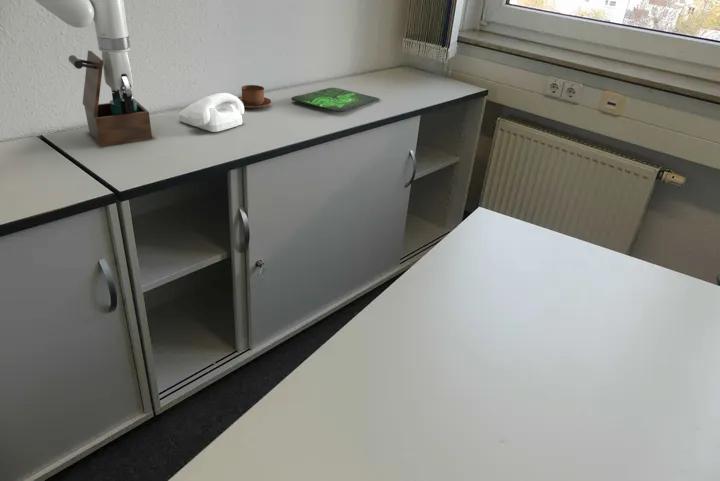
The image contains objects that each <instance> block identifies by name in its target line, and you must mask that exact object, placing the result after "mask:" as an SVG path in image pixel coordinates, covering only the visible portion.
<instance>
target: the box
mask: <svg viewBox="0 0 720 481" xmlns="http://www.w3.org/2000/svg"><path fill="white" fill-rule="evenodd" d="M83 106H84V105H83ZM137 108H138V112H136V113H129V114H121V115H112V114H111V108H110V102H105V103H99V104H98V112H97V117H94V116H93V115H92V114H91V113H90V112H89V111H88V110H87V108H86V107H85V106H84V112H85V116H86V122H87V126H88V131H89V132H88V133H89V135H91V136H92V138H93V139H94V141H95V142H96V143H97V144H98V145H99V147H101V148H104V147H110V146H115V145H122V144H129V143H135V142H142V141H148V140H153V134H152V126H151V119H150V111H149V110H148V109H147V108H145V107H144V106H143V105H142V104H141V103H139V102H138V101H137Z"/></svg>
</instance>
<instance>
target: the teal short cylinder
mask: <svg viewBox="0 0 720 481" xmlns="http://www.w3.org/2000/svg"><path fill="white" fill-rule="evenodd" d="M120 101H121V98H117V99H113V98H112V99H111V100H110V101H109V103H110V108H111V114H112V115H121V114H122V110H121V103H120ZM137 102H138V101H137V100H136V99H135V98H133V103H134V110H135V113H136V112H138V108H137Z"/></svg>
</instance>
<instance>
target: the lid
mask: <svg viewBox="0 0 720 481" xmlns="http://www.w3.org/2000/svg"><path fill="white" fill-rule="evenodd" d="M86 56H87V57H86V60H85V59H82V58H81V59H80V58H78V57H77V56H76V55H73V54H72V55H69V57H68V61H69V63H70V64H71V65H72V66H74V67H75V68H76V69H77V70H81V69H82V68H85V78H84V86H83V96H82V105H83V106H85V107H86V108H87V110H88V111H89V112H90V113H91V114H92V115H93V116H94V117H97V112H98V104H100V95H101V94H100V93H101V85H102V77H103V70H104V69H103V60H102V58H100V57H99V56H98V55H97V54H96V53H94V52H93V51H92V50H89V49H88V50H87V55H86ZM85 107H84V108H85Z"/></svg>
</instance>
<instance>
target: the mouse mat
mask: <svg viewBox="0 0 720 481" xmlns="http://www.w3.org/2000/svg"><path fill="white" fill-rule="evenodd" d="M290 99H291V100H292V101H293V102H297V103H302V104H306V105H310V106H313V107H317V108H320V109H325V110H329V111H332V112H337V113H342V112H347V111H351V110H354V109H357V108H360V107H363V106H367V105H369V104H372V103H374V102H377V101H380V100H381V99H380V98H379V97H375V96H371V95H366V94H363V93H359V92H355V91H351V90H346V89H342V88H339V87H338V88H337V87H328V88H324V89H322V90H318V91H317V90H316V91H313V92H308V93H305V94H299V95H295V96H291V97H290Z"/></svg>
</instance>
